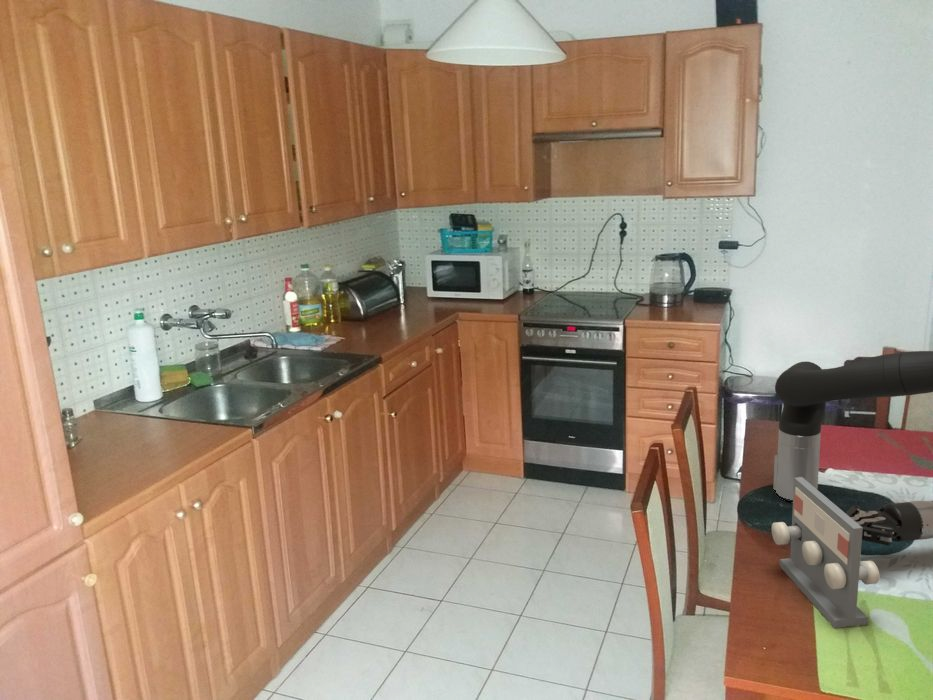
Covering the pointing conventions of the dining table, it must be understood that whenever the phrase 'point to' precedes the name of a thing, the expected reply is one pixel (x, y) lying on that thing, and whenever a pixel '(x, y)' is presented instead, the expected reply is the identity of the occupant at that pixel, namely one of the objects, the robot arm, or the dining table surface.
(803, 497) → the grey panel with knobs
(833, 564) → the pin
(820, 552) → the middle pin
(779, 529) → the pin
